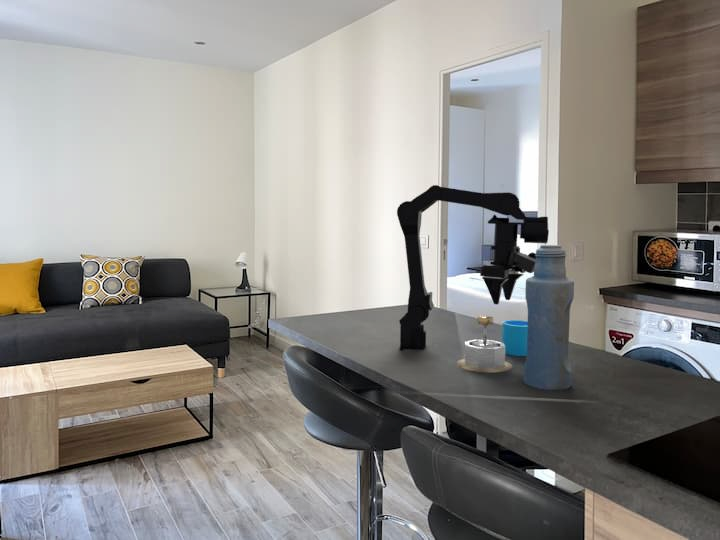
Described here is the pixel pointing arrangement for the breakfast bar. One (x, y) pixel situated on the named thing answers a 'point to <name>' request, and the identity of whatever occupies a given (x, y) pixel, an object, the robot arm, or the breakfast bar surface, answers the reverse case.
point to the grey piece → (484, 356)
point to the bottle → (548, 321)
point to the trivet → (462, 365)
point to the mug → (515, 337)
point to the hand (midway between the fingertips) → (502, 302)
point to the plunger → (485, 333)
